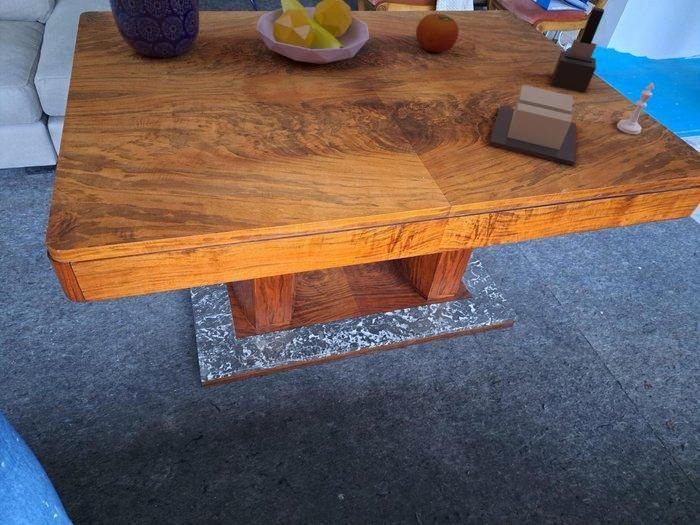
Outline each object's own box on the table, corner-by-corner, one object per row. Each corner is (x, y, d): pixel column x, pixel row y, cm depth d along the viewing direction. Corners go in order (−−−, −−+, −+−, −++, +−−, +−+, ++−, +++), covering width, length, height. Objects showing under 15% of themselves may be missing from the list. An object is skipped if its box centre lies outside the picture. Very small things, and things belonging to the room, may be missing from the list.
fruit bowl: (384, 71, 118) (391, 20, 110) (269, 79, 110) (268, 25, 102) (345, 26, 137) (349, -21, 129) (244, 30, 129) (241, -19, 121)
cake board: (574, 127, 107) (576, 123, 106) (572, 166, 96) (574, 161, 95) (499, 109, 110) (500, 105, 109) (488, 145, 98) (490, 140, 98)
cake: (561, 123, 105) (572, 95, 101) (560, 139, 101) (572, 111, 96) (513, 111, 107) (522, 84, 103) (509, 126, 102) (519, 99, 98)
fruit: (405, 43, 132) (411, 11, 126) (437, 39, 136) (444, 7, 130) (430, 60, 125) (436, 26, 120) (462, 54, 129) (470, 22, 124)
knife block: (585, 82, 124) (595, 58, 119) (585, 92, 119) (596, 67, 115) (552, 75, 125) (561, 51, 121) (550, 85, 121) (560, 60, 117)
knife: (578, 84, 123) (610, 10, 111) (578, 88, 121) (610, 12, 109) (557, 80, 123) (586, 5, 112) (557, 83, 122) (586, 8, 110)
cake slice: (559, 142, 99) (571, 114, 95) (559, 150, 97) (571, 122, 93) (508, 130, 101) (518, 102, 97) (507, 137, 99) (516, 109, 95)
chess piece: (645, 133, 108) (670, 88, 101) (627, 135, 106) (651, 90, 99) (629, 121, 111) (652, 77, 104) (611, 123, 109) (633, 79, 102)
